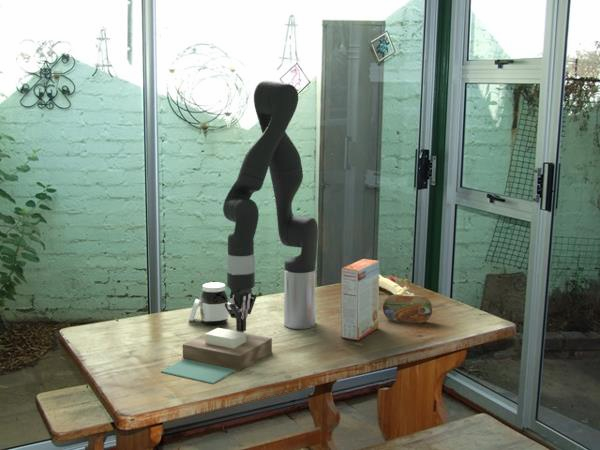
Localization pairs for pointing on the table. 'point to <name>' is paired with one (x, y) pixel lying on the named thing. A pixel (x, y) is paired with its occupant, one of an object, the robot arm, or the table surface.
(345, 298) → the cracker box
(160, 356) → the table surface
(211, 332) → the tile
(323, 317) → the table surface
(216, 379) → the mat
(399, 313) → the tin
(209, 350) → the brown wooden board
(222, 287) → the spread jar
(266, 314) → the table surface
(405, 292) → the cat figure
